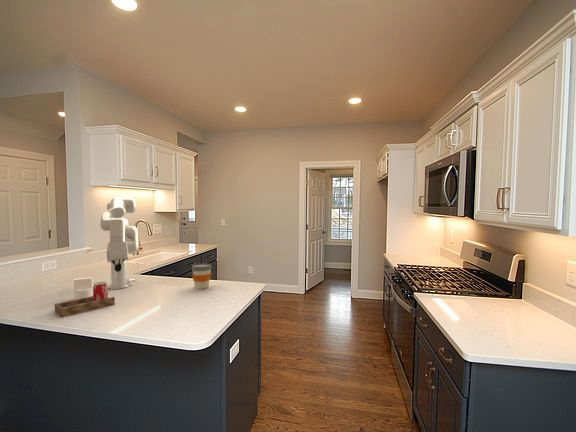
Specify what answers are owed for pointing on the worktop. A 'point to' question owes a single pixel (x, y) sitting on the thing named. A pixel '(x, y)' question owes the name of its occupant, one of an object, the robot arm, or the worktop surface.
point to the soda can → (100, 291)
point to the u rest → (81, 305)
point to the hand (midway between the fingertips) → (118, 271)
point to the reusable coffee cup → (201, 275)
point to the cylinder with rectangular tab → (83, 288)
